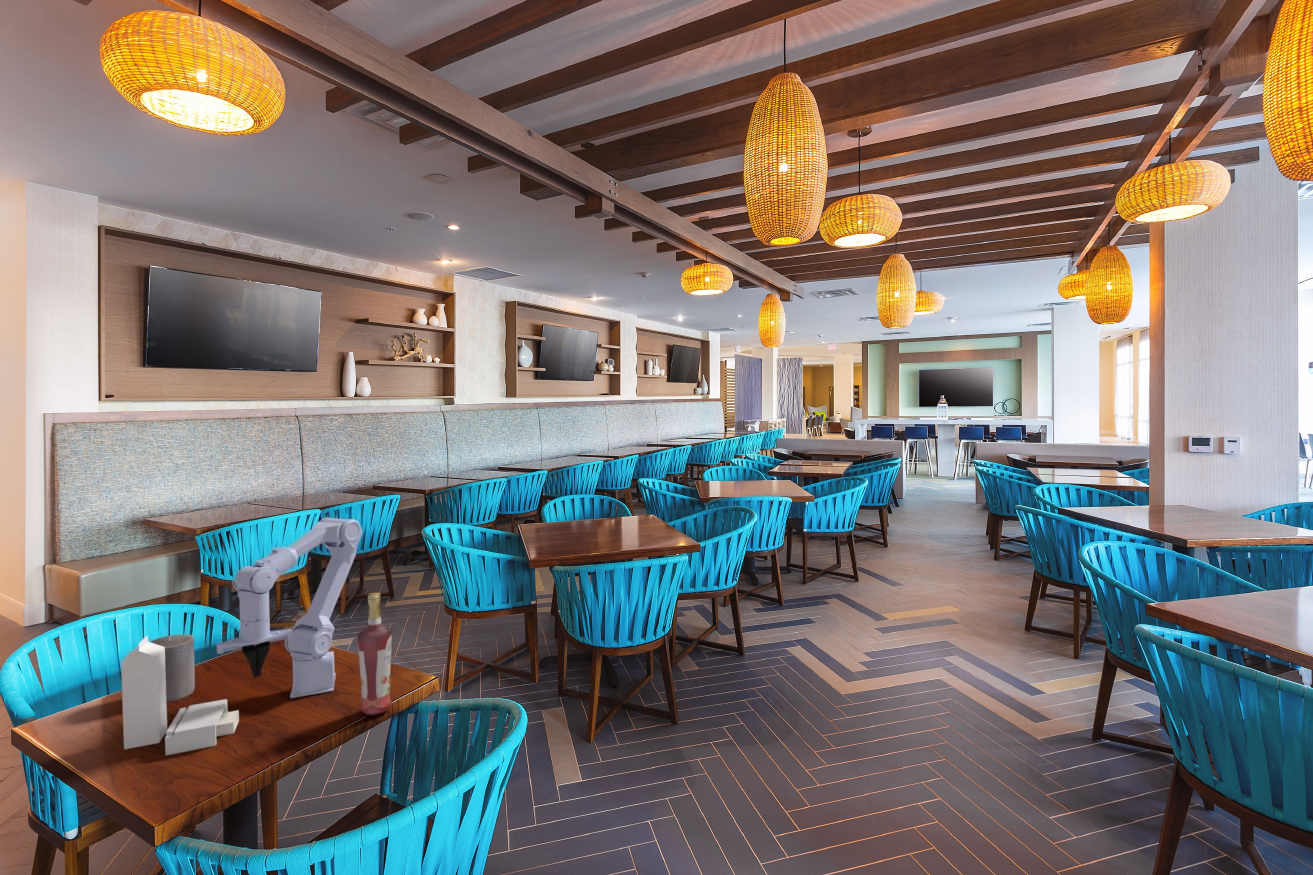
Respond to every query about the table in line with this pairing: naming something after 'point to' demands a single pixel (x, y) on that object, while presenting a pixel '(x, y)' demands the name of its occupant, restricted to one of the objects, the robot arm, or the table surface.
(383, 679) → the liquor
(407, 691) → the table surface
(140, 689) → the milk
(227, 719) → the cream rectangular beam
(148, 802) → the table surface
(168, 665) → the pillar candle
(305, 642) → the robot arm
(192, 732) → the slotted white box
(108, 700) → the table surface
